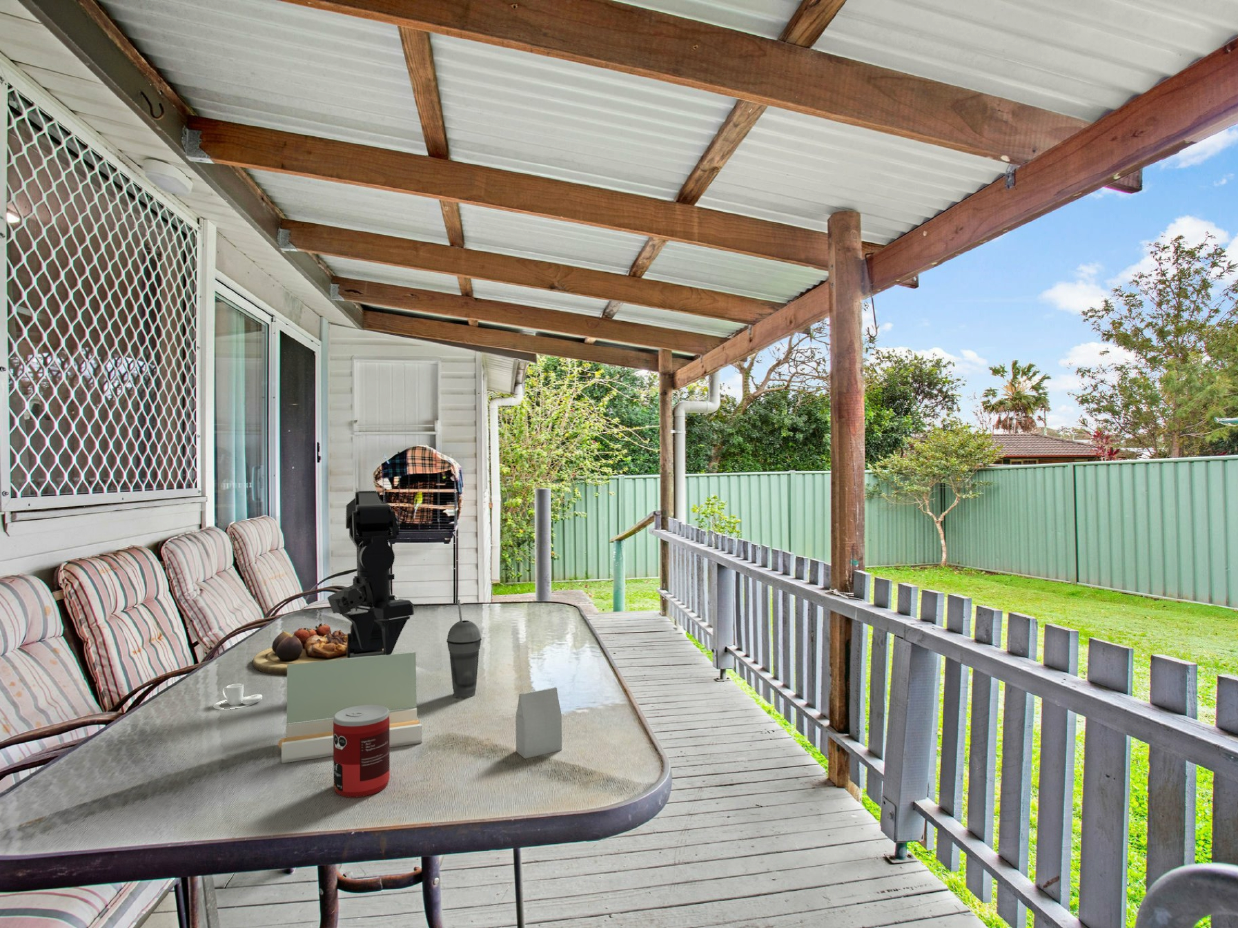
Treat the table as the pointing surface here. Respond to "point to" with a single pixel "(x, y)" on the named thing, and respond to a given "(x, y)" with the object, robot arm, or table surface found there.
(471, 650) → the beverage cup
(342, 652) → the wooden plate with food
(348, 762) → the canned food
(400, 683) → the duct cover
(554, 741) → the grey gable bag
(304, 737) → the orange rounded bar
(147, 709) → the table surface
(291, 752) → the cable duct
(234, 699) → the teacup and saucer
